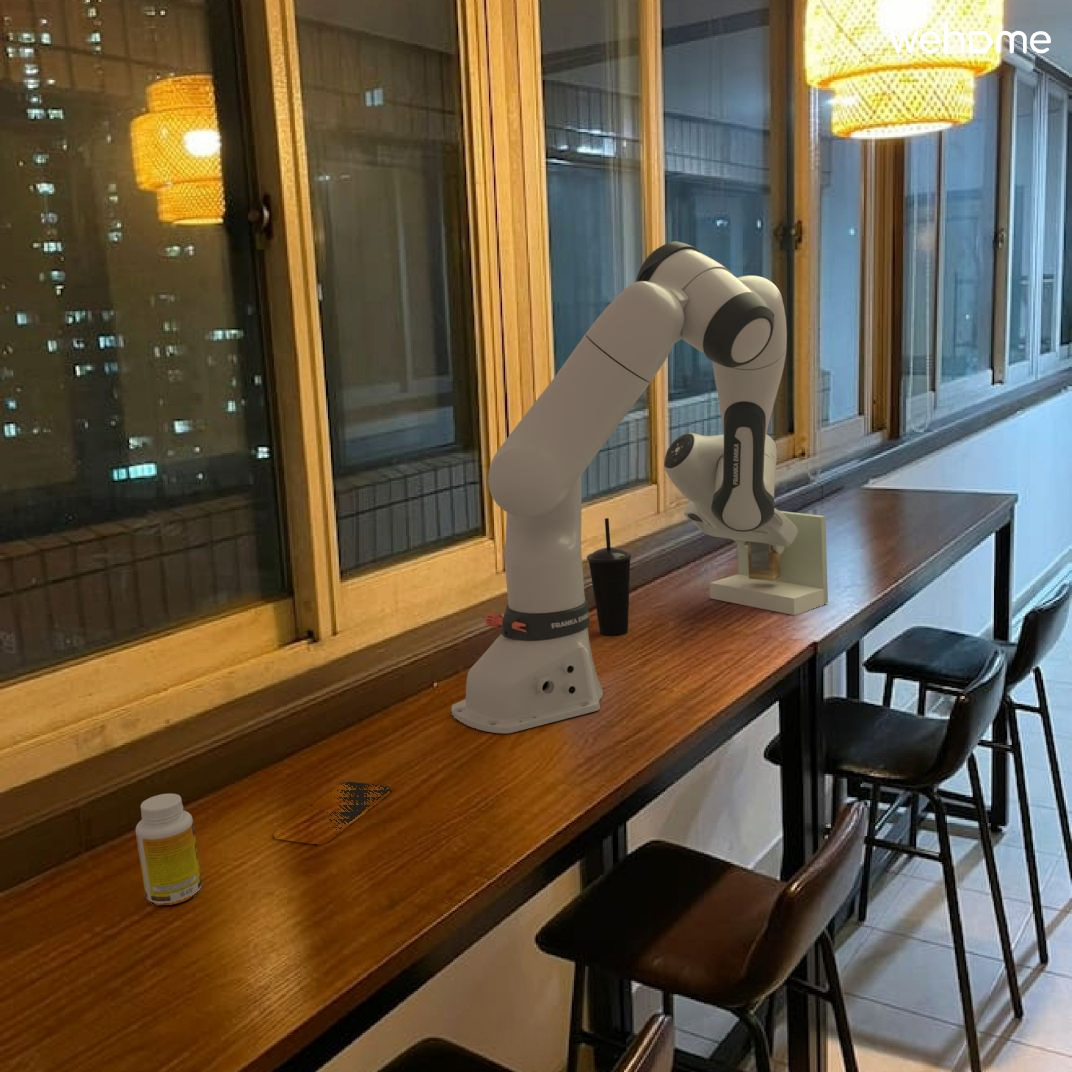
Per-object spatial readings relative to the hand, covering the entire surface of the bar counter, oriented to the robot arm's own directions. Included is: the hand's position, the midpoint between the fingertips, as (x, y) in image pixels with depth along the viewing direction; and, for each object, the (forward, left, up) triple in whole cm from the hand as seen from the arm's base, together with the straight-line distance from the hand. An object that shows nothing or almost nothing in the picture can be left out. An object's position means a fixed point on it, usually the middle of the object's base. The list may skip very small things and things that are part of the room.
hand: (765, 548), depth 207 cm
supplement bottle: (-122, -26, -10) cm, 125 cm away
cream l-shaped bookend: (-1, 0, -10) cm, 10 cm away
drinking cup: (-31, +8, -10) cm, 33 cm away
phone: (-101, -21, -10) cm, 103 cm away
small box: (-1, 0, -5) cm, 5 cm away
